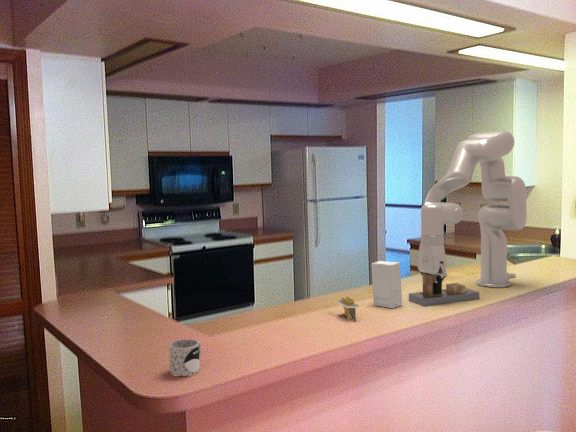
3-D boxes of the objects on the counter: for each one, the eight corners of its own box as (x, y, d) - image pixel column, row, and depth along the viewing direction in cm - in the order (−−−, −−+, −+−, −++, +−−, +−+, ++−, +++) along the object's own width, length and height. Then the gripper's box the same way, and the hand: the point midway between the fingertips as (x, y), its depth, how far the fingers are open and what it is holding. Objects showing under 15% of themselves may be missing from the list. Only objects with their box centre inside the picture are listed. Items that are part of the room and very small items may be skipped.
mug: (189, 378, 117) (188, 349, 117) (164, 375, 120) (163, 346, 119) (212, 363, 127) (211, 336, 126) (188, 360, 129) (187, 333, 129)
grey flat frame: (462, 293, 193) (462, 287, 193) (479, 299, 185) (479, 292, 185) (408, 300, 185) (408, 293, 185) (424, 306, 176) (424, 298, 176)
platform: (341, 328, 155) (340, 306, 154) (319, 313, 172) (319, 293, 171) (378, 324, 158) (377, 302, 158) (353, 310, 175) (352, 290, 175)
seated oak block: (456, 296, 190) (456, 283, 189) (465, 299, 185) (465, 285, 185) (446, 298, 188) (446, 284, 187) (454, 300, 184) (454, 286, 183)
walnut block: (422, 295, 184) (422, 273, 183) (433, 294, 186) (433, 272, 185) (430, 298, 180) (430, 275, 179) (441, 297, 182) (442, 274, 181)
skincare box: (402, 305, 178) (402, 262, 176) (391, 309, 173) (391, 264, 172) (381, 302, 184) (381, 259, 183) (371, 305, 180) (370, 261, 178)
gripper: (408, 238, 188) (409, 288, 189) (438, 243, 172) (438, 298, 174) (426, 237, 190) (426, 286, 192) (457, 242, 175) (457, 296, 176)
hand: (432, 292), depth 183 cm, fingers closed on walnut block, 4 cm apart
